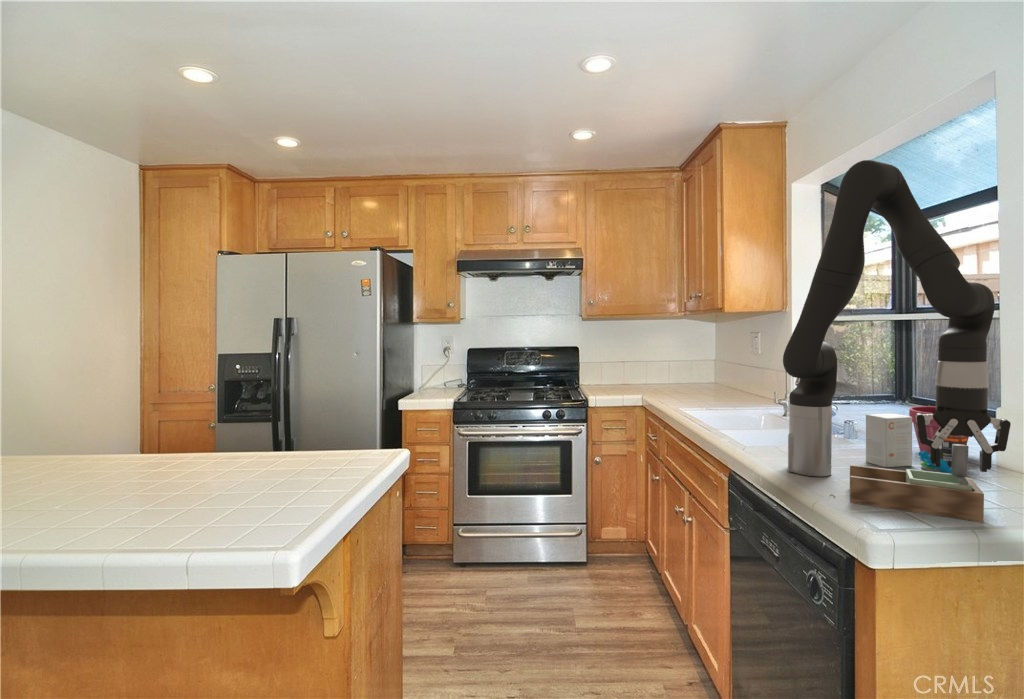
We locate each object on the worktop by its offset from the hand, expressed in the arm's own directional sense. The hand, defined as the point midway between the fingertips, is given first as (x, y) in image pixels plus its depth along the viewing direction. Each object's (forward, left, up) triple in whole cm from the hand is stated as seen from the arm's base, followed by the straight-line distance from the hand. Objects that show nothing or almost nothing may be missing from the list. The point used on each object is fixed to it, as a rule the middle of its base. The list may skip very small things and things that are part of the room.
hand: (959, 468), depth 97 cm
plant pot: (+4, +54, -9) cm, 54 cm away
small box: (-9, +35, -9) cm, 37 cm away
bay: (-8, 0, -8) cm, 11 cm away
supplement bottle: (+4, +38, -9) cm, 39 cm away
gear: (-1, +20, -9) cm, 22 cm away
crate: (-3, 0, -7) cm, 8 cm away
